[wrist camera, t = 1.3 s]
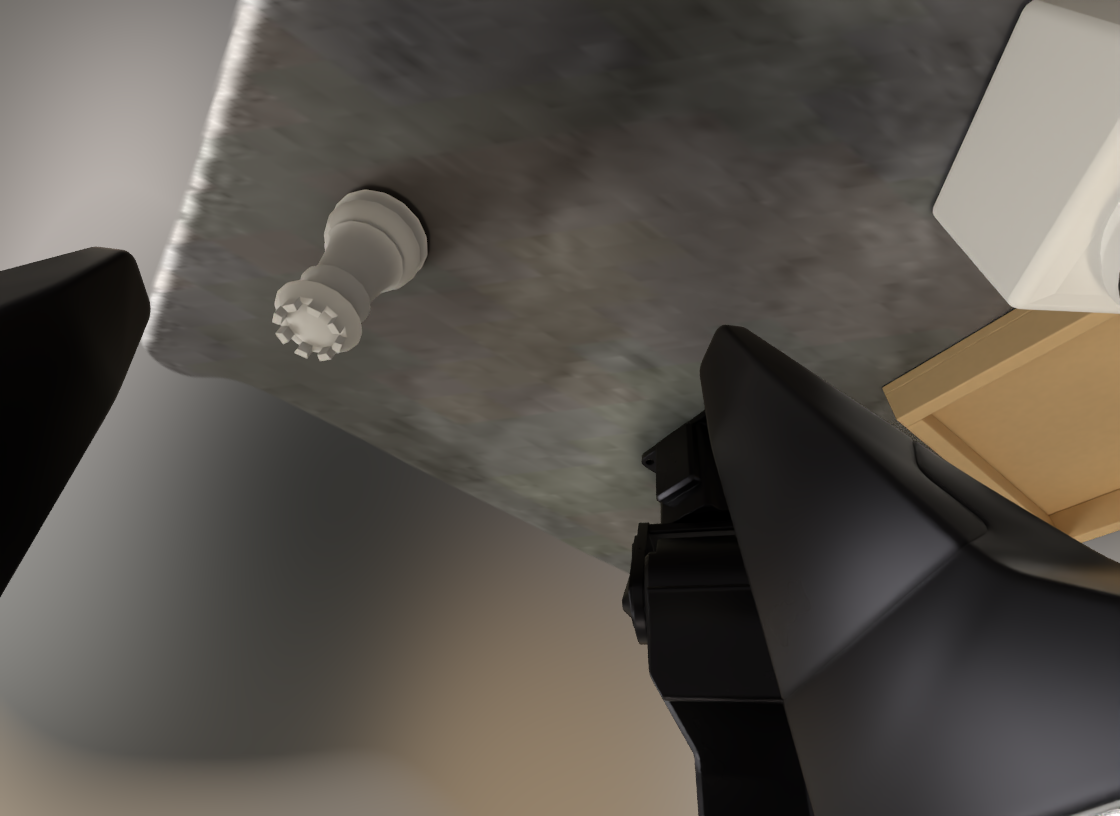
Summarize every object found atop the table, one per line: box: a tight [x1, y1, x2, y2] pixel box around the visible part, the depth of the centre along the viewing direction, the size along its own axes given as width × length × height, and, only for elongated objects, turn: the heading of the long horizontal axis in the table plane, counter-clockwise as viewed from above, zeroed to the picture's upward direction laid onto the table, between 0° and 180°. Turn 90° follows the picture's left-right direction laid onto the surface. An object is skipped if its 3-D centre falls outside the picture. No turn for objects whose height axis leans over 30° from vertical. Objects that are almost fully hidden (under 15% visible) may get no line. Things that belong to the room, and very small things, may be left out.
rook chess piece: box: [272, 189, 428, 361], centre depth 23 cm, size 4×4×8 cm
